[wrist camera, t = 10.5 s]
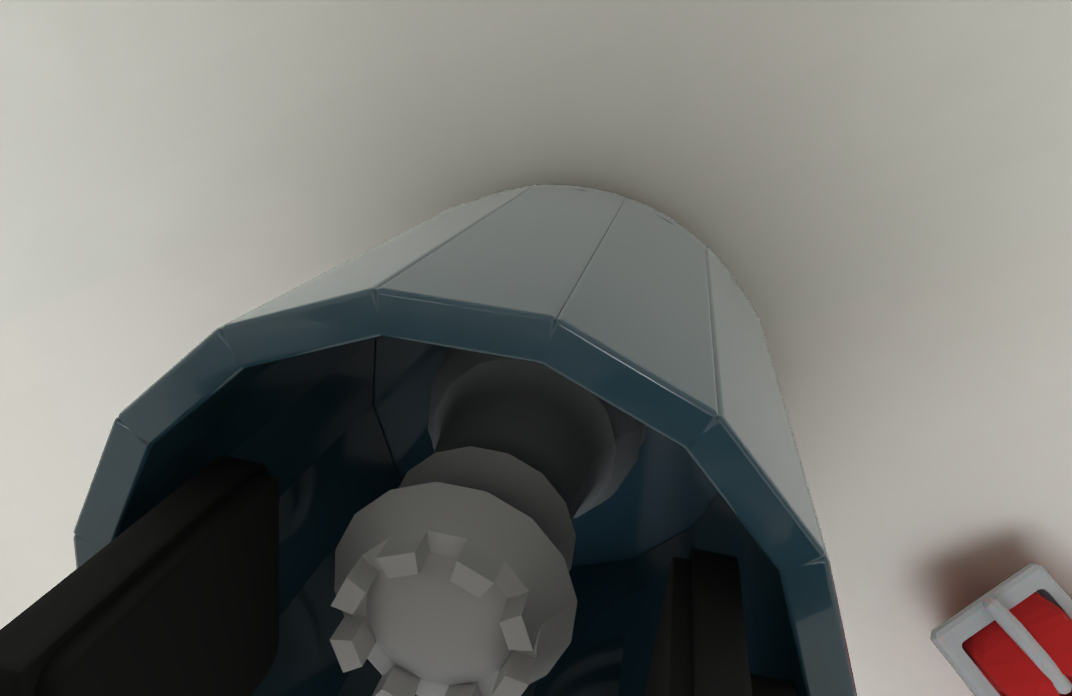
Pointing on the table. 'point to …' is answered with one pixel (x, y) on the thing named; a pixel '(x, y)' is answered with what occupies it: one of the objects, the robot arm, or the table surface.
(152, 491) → the tumbler
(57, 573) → the table surface
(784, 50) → the table surface
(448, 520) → the rook chess piece
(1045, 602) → the tracker holder
